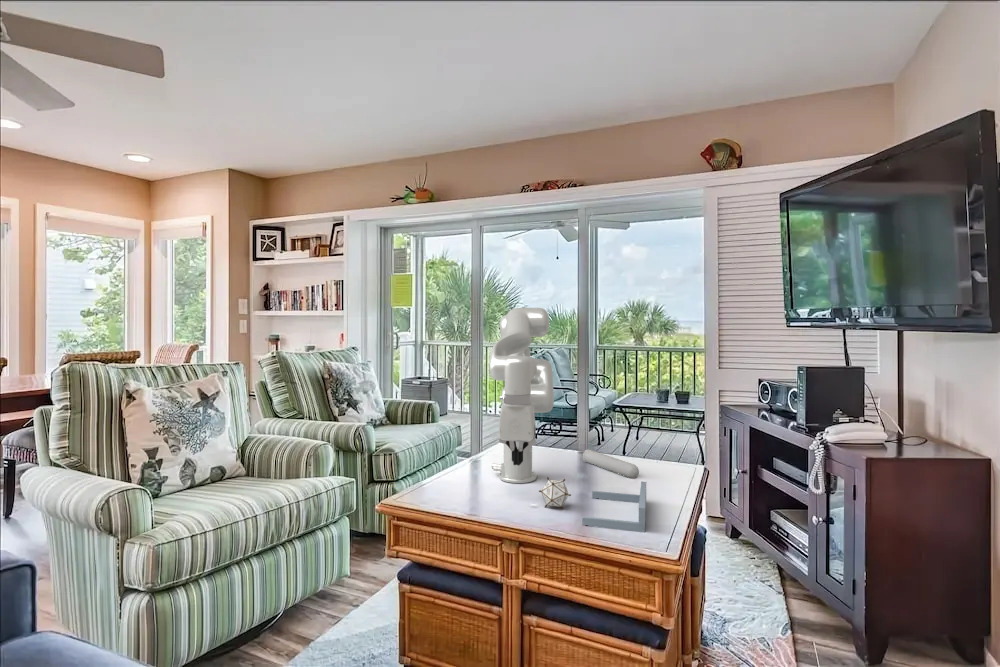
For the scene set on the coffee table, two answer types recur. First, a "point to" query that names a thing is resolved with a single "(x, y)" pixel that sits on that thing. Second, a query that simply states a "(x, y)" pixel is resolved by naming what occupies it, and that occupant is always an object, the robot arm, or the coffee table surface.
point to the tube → (611, 463)
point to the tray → (620, 523)
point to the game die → (554, 493)
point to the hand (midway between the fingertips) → (517, 464)
